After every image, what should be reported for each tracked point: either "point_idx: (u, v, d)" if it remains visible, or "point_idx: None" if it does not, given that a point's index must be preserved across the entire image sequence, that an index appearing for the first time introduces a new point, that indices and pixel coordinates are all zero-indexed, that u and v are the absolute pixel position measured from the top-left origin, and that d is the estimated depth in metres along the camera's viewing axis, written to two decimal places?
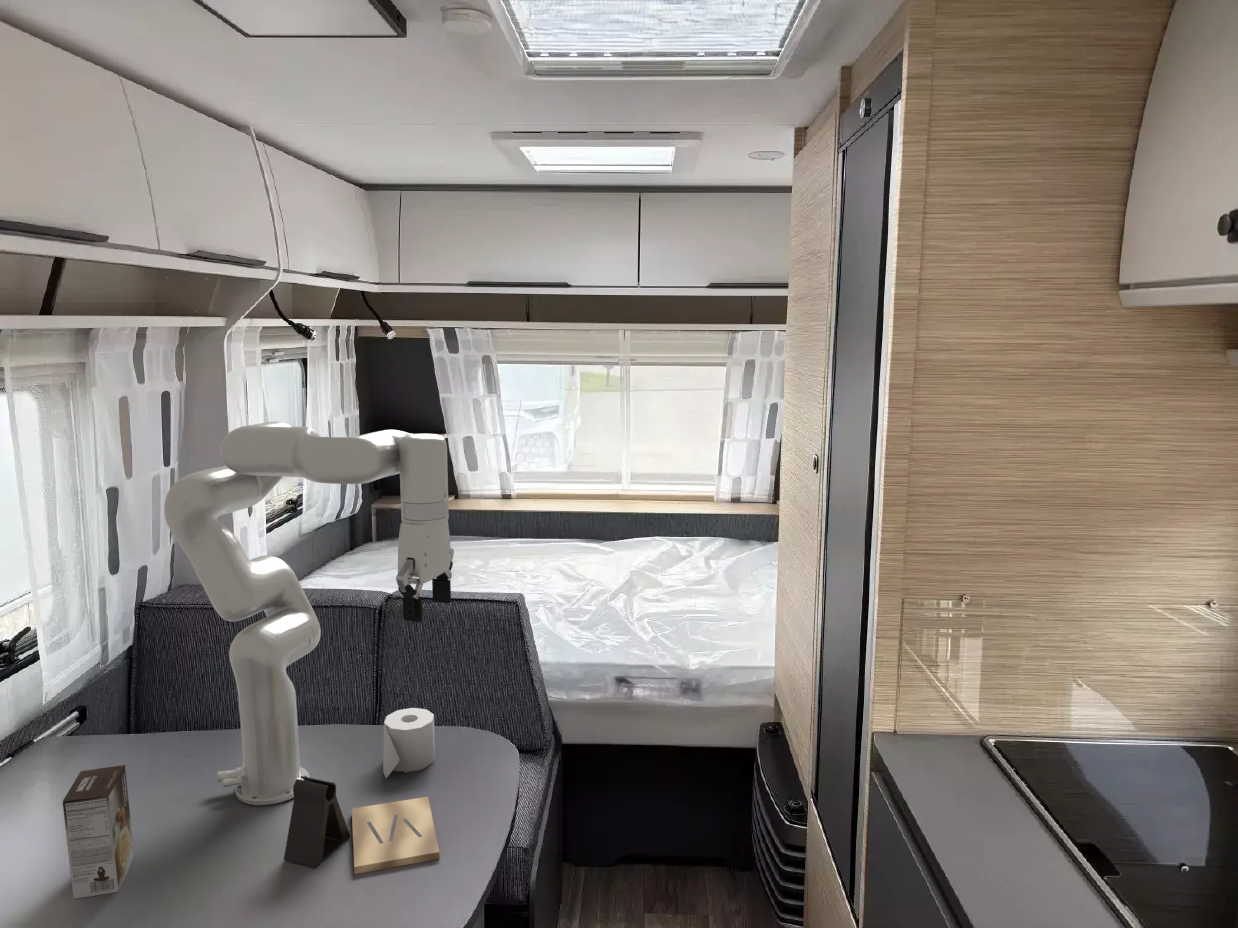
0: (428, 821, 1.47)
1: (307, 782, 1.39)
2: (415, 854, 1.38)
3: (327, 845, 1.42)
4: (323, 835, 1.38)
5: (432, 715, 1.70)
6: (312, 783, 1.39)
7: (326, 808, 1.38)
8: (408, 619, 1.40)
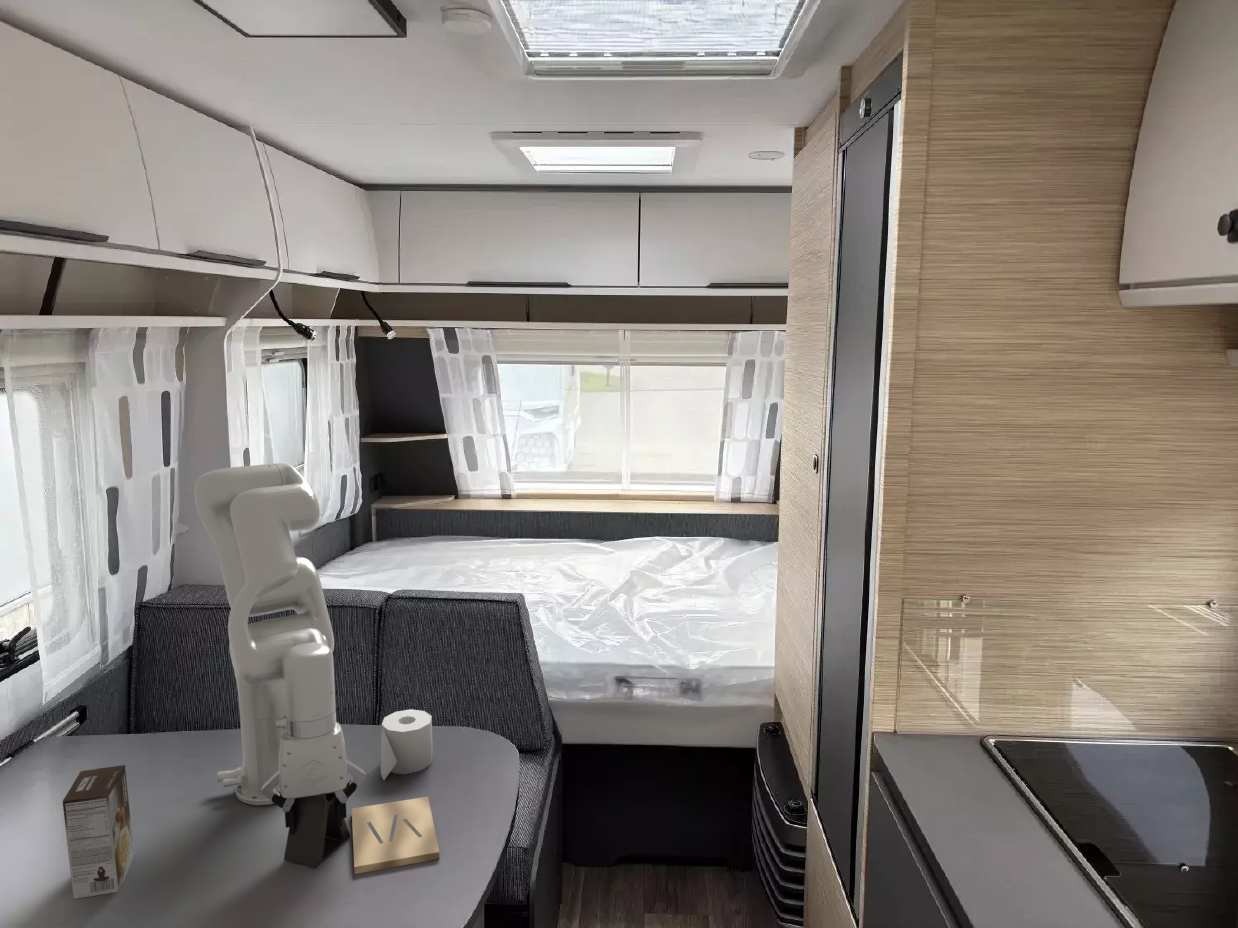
0: (428, 821, 1.47)
1: None
2: (415, 854, 1.38)
3: (327, 844, 1.42)
4: (323, 835, 1.38)
5: (430, 717, 1.69)
6: None
7: (326, 808, 1.38)
8: None
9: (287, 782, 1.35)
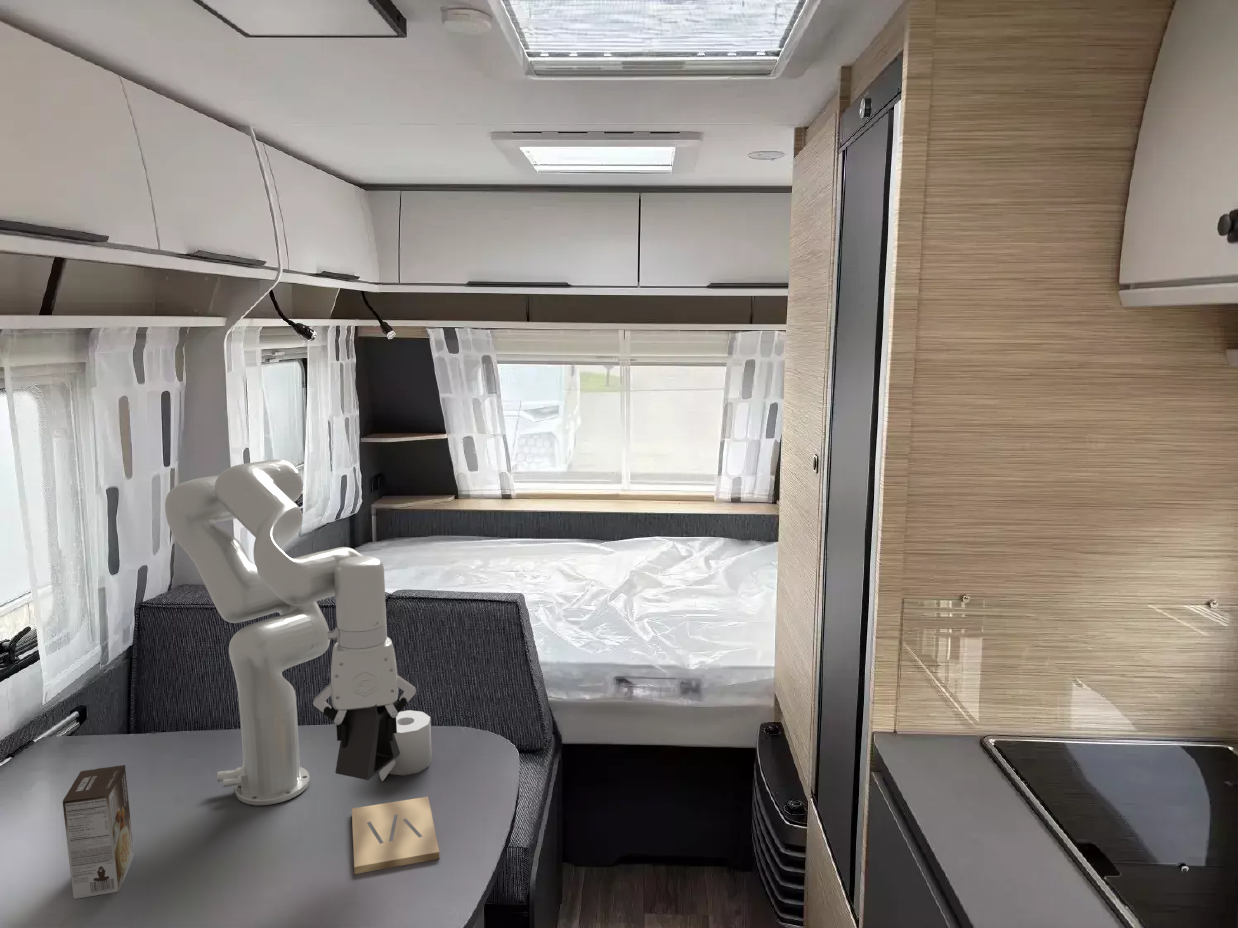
0: (428, 821, 1.47)
1: None
2: (415, 854, 1.38)
3: (378, 760, 1.42)
4: (374, 748, 1.38)
5: (428, 718, 1.69)
6: None
7: (377, 721, 1.38)
8: None
9: (339, 693, 1.36)
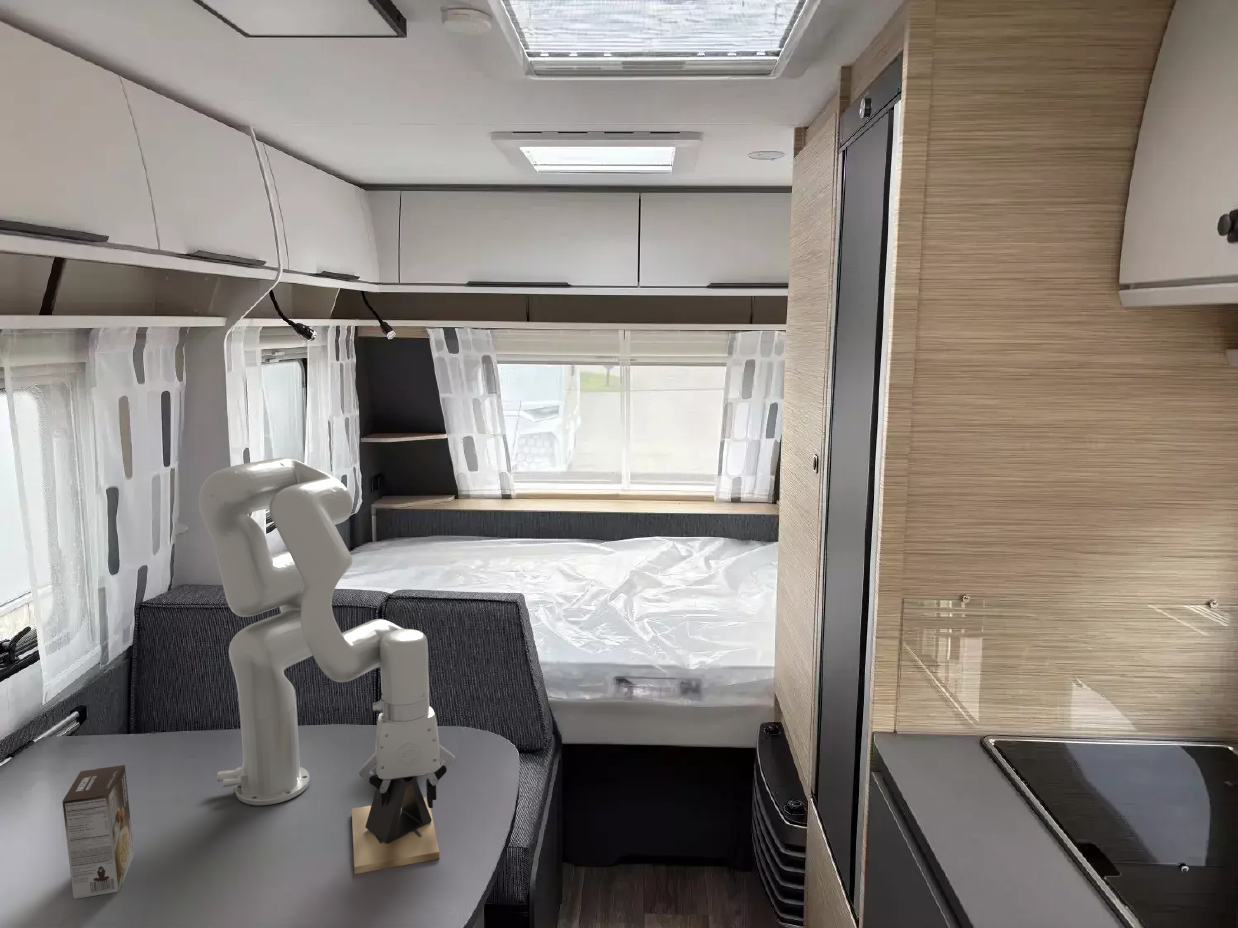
0: None
1: None
2: (415, 854, 1.38)
3: (407, 824, 1.46)
4: (397, 813, 1.41)
5: None
6: None
7: (403, 788, 1.42)
8: None
9: (384, 763, 1.40)
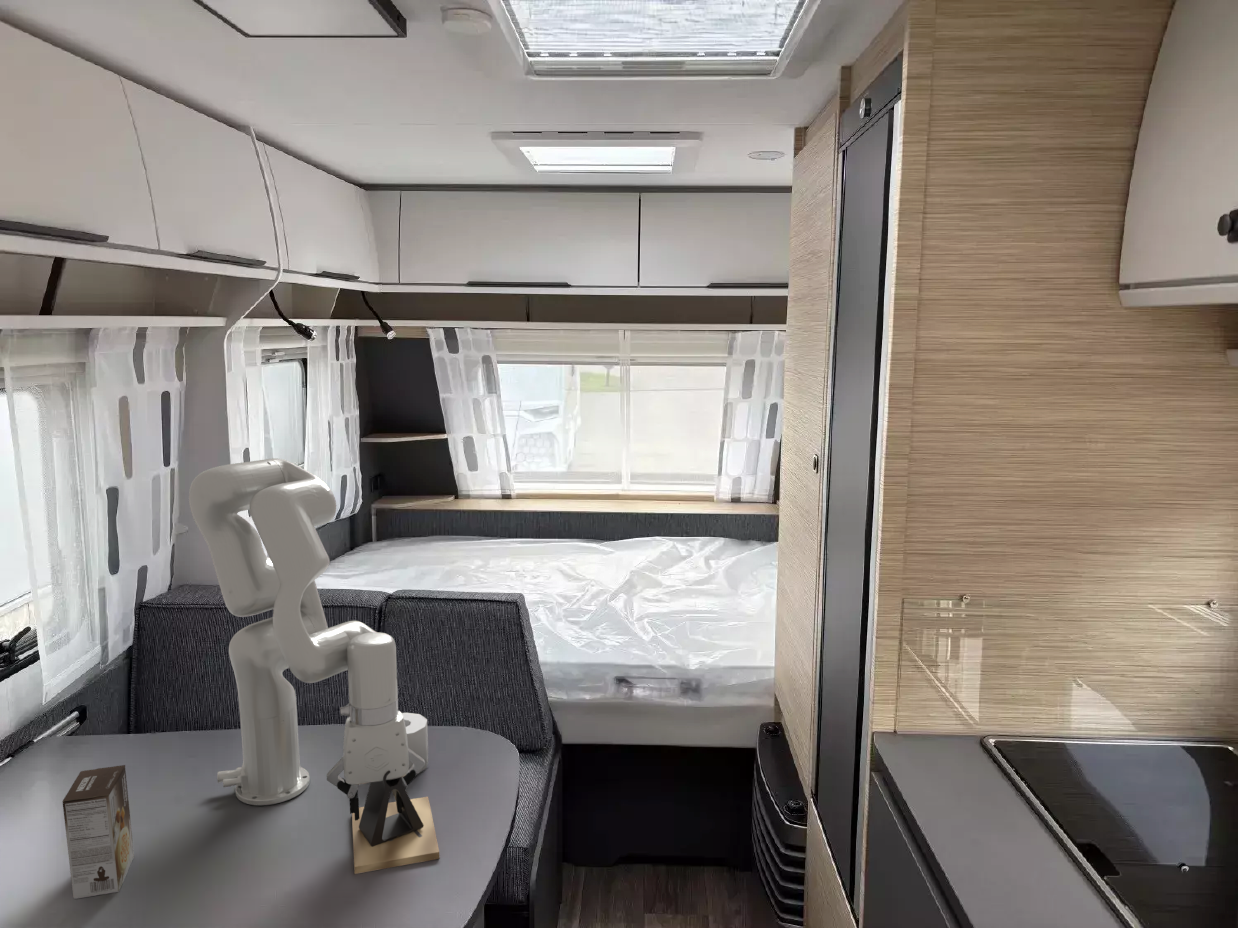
0: (428, 821, 1.47)
1: None
2: (415, 854, 1.38)
3: (399, 827, 1.44)
4: (383, 817, 1.40)
5: (425, 720, 1.68)
6: None
7: (387, 792, 1.40)
8: None
9: (351, 768, 1.38)
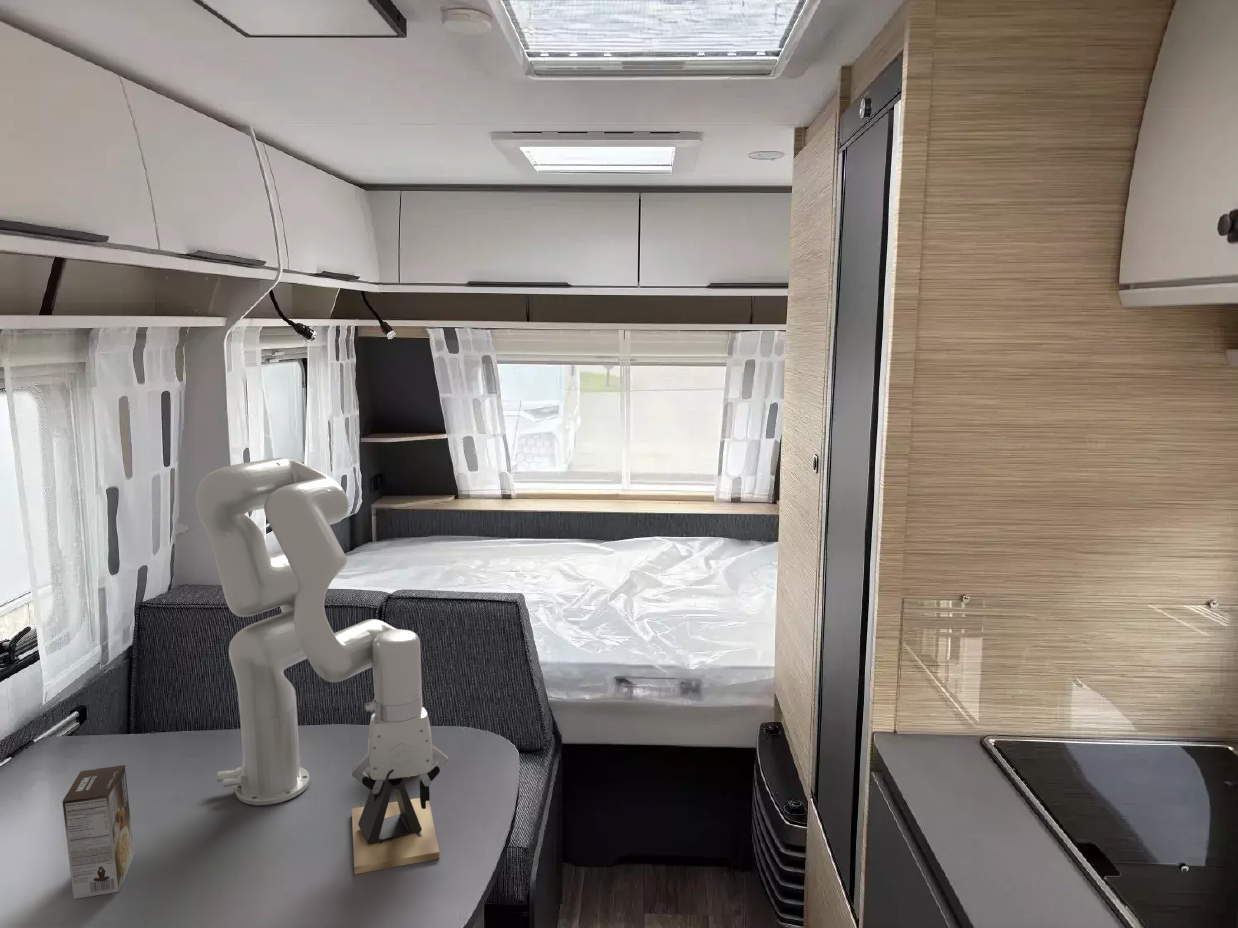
0: (428, 821, 1.47)
1: None
2: (415, 854, 1.38)
3: (397, 829, 1.44)
4: (382, 816, 1.40)
5: None
6: None
7: (388, 791, 1.40)
8: None
9: (376, 764, 1.39)
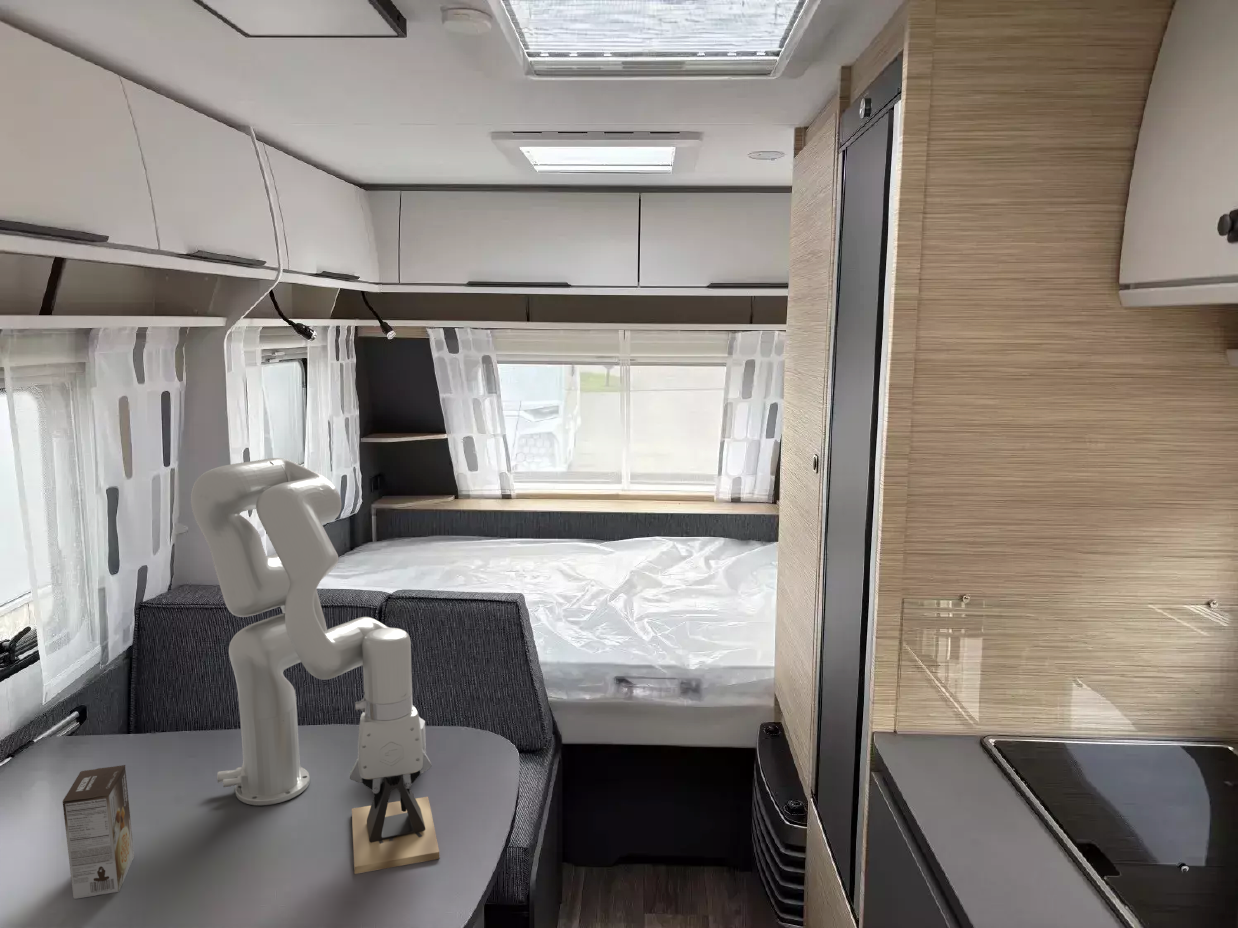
0: (428, 821, 1.47)
1: None
2: (415, 854, 1.38)
3: (402, 827, 1.44)
4: (382, 815, 1.41)
5: (423, 722, 1.67)
6: None
7: (387, 790, 1.41)
8: None
9: (366, 763, 1.39)
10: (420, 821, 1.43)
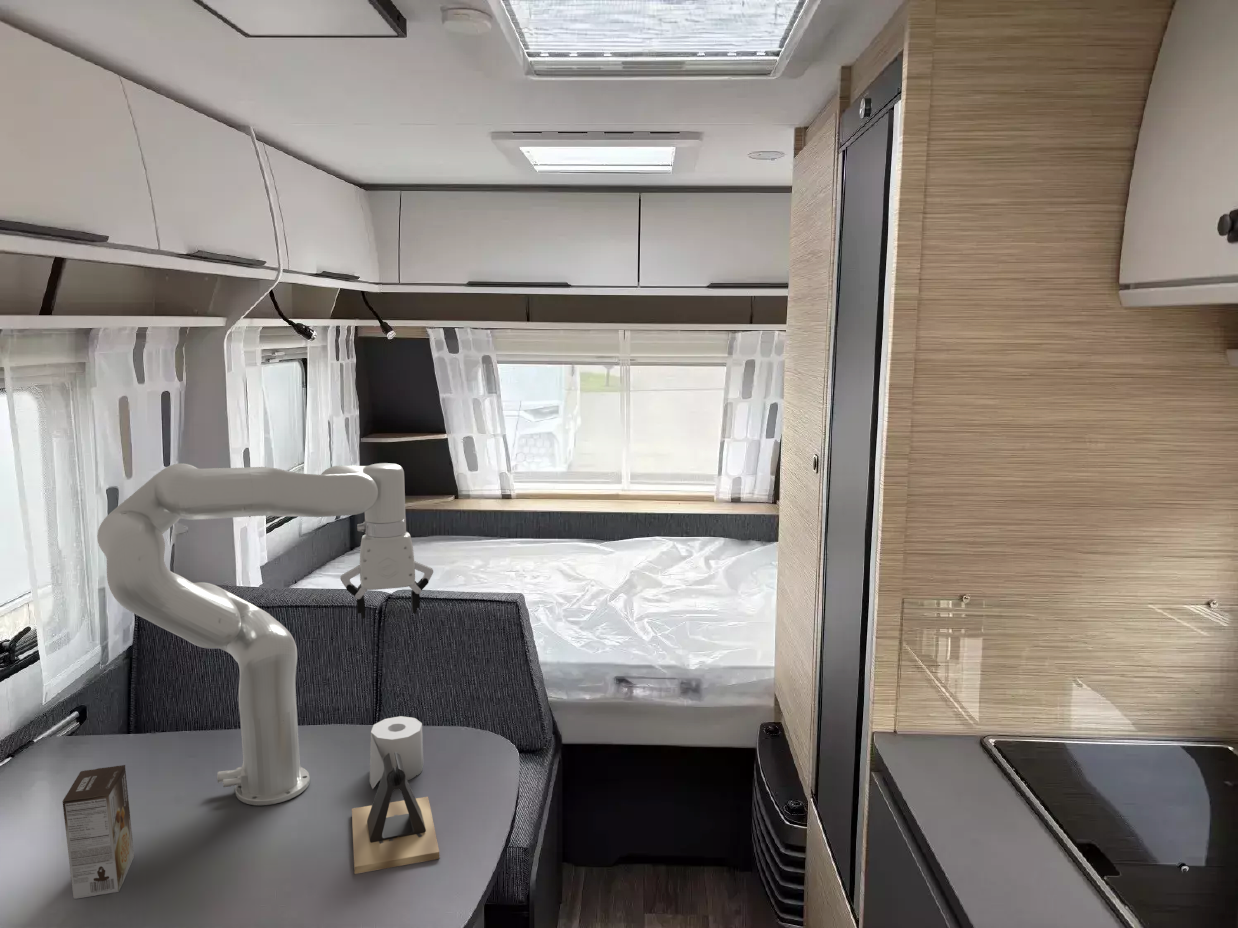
0: (428, 821, 1.47)
1: (389, 759, 1.44)
2: (415, 854, 1.38)
3: (402, 828, 1.44)
4: (383, 815, 1.41)
5: (420, 724, 1.66)
6: (389, 762, 1.43)
7: (389, 791, 1.41)
8: None
9: (367, 575, 1.64)
10: (421, 822, 1.44)
